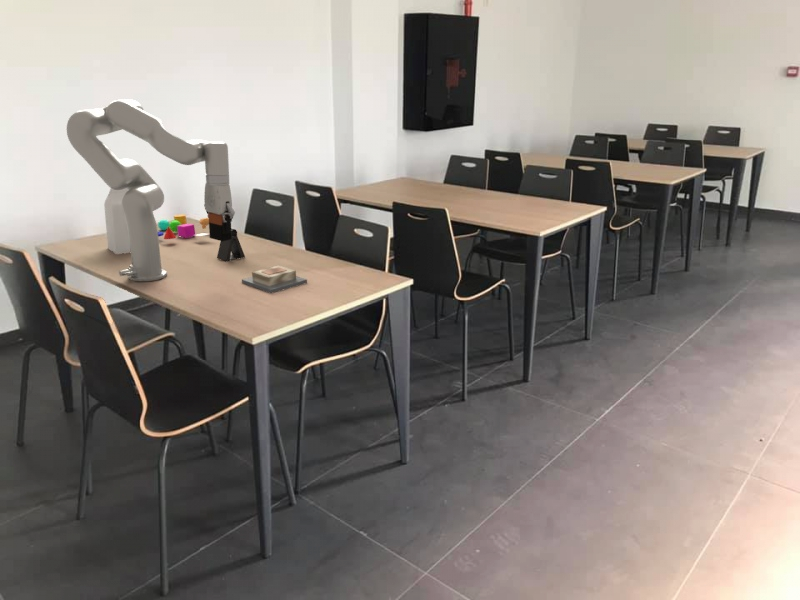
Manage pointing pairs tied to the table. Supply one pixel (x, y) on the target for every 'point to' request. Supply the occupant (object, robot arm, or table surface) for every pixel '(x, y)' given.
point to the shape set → (180, 227)
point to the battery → (217, 227)
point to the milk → (116, 222)
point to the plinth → (274, 275)
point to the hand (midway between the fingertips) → (220, 230)
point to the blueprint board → (277, 286)
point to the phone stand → (230, 248)
